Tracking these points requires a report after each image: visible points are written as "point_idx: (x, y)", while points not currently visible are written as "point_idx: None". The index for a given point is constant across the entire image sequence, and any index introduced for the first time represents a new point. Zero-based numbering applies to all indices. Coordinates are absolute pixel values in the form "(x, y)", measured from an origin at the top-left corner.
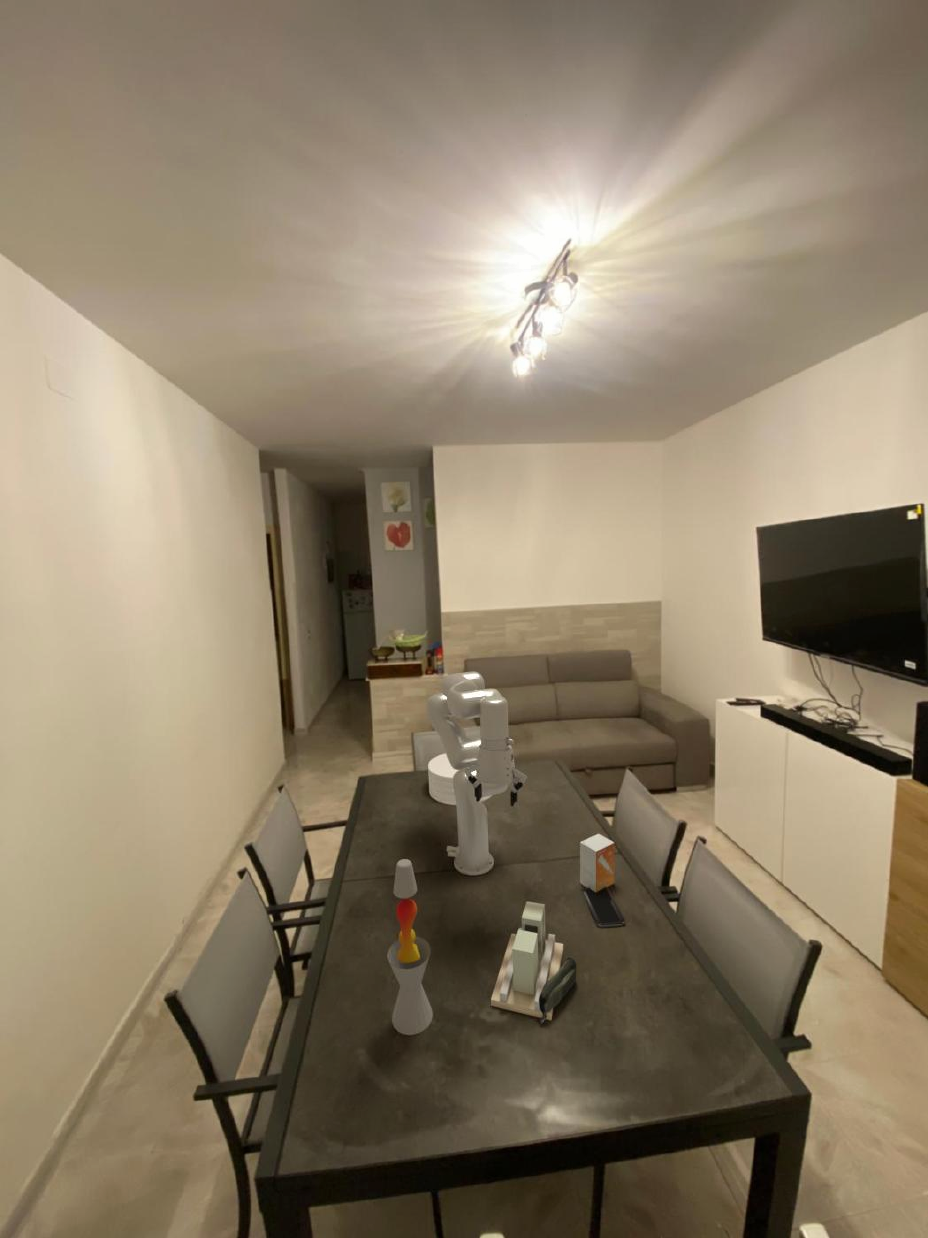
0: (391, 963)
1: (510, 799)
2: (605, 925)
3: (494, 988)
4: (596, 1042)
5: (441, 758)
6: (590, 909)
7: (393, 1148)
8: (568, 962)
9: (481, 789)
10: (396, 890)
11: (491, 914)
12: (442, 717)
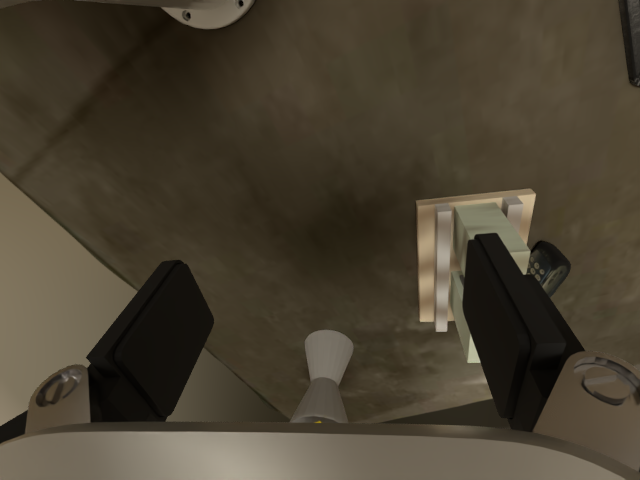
0: (299, 422)
1: (479, 356)
2: None
3: (420, 308)
4: (575, 319)
5: None
6: (629, 26)
7: (378, 419)
8: (557, 275)
9: (152, 315)
10: None
11: (350, 150)
12: None
